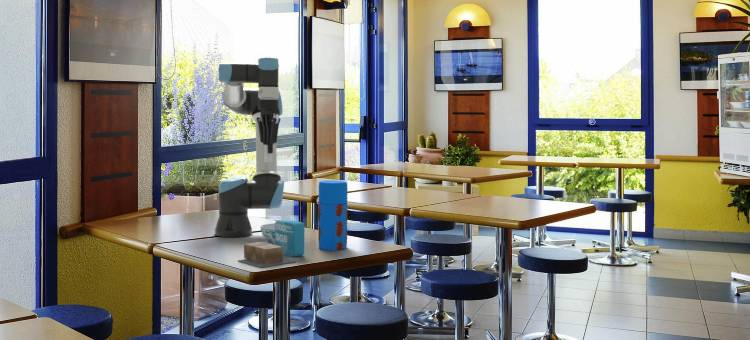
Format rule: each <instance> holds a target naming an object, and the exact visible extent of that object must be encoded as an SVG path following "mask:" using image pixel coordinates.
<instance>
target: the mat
mask: <svg viewBox="0 0 750 340" xmlns="http://www.w3.org/2000/svg"><path fill="white" fill-rule="evenodd" d="M238 261H239V262H238ZM237 262H238V263H242V264H245V263H246V265H249V264H250V265H249V266H252V265H253V267H256V268H259V267H260V269H263V268H270V267H275V266H282V265H289V264H293V263H296V262H297V261H295V260H292V259H288V258H285V257H283V262H276V263H270V264H263V263H259V262H256V261H252V260H248V259H245V258H243V259H238V260H237ZM269 266H270V267H269Z"/></svg>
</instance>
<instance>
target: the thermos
mask: <svg viewBox="0 0 750 340" xmlns="http://www.w3.org/2000/svg"><path fill="white" fill-rule="evenodd" d="M347 246H348V181H347V180H346V181H345V180H321V181H319V183H318V249H320V250H321V251H322V250H323V251H330V250H331V251H332V252H333V251H334V252H335V251H343V250H344V251H345V250H346V249H347ZM331 251H330V252H331Z"/></svg>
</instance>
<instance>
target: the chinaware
mask: <svg viewBox="0 0 750 340" xmlns="http://www.w3.org/2000/svg"><path fill="white" fill-rule="evenodd" d="M260 231H261V235H262V236H263V238H264V239H265V240H266V241H267V243H268V244H273V245H275V222H274V223H266V224H262V225H260Z"/></svg>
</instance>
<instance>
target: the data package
mask: <svg viewBox="0 0 750 340" xmlns="http://www.w3.org/2000/svg"><path fill="white" fill-rule="evenodd" d="M274 223H275V245H277V246H281V247H283V256H286V257H287V256H288V257H290V258H294V257H295V258H296V257H303V256H304V255H305V249H306V248H305V240H306V239H305V232H306V231H305V229H306V228H305V224H304V223H303V222H301V221H298V220H297V221H296V220H291V219H281V220H280V219H278V220H276V221H275V222H274Z"/></svg>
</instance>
